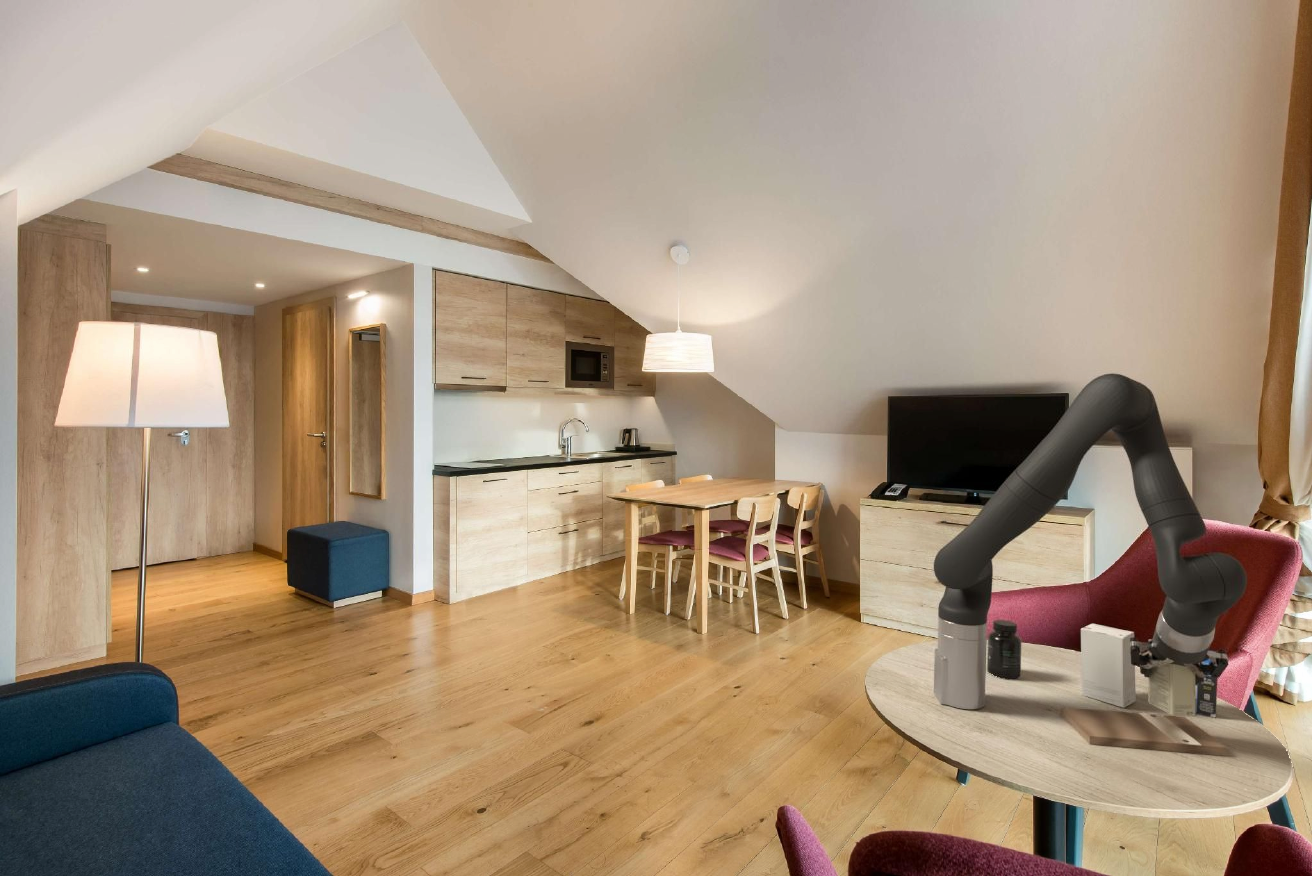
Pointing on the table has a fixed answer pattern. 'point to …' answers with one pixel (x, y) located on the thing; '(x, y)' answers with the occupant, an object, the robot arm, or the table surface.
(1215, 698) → the label tape cartridge
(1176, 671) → the skincare box
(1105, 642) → the skincare box
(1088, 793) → the table surface
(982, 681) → the robot arm
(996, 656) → the supplement bottle
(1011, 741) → the table surface
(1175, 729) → the subfloor panel
